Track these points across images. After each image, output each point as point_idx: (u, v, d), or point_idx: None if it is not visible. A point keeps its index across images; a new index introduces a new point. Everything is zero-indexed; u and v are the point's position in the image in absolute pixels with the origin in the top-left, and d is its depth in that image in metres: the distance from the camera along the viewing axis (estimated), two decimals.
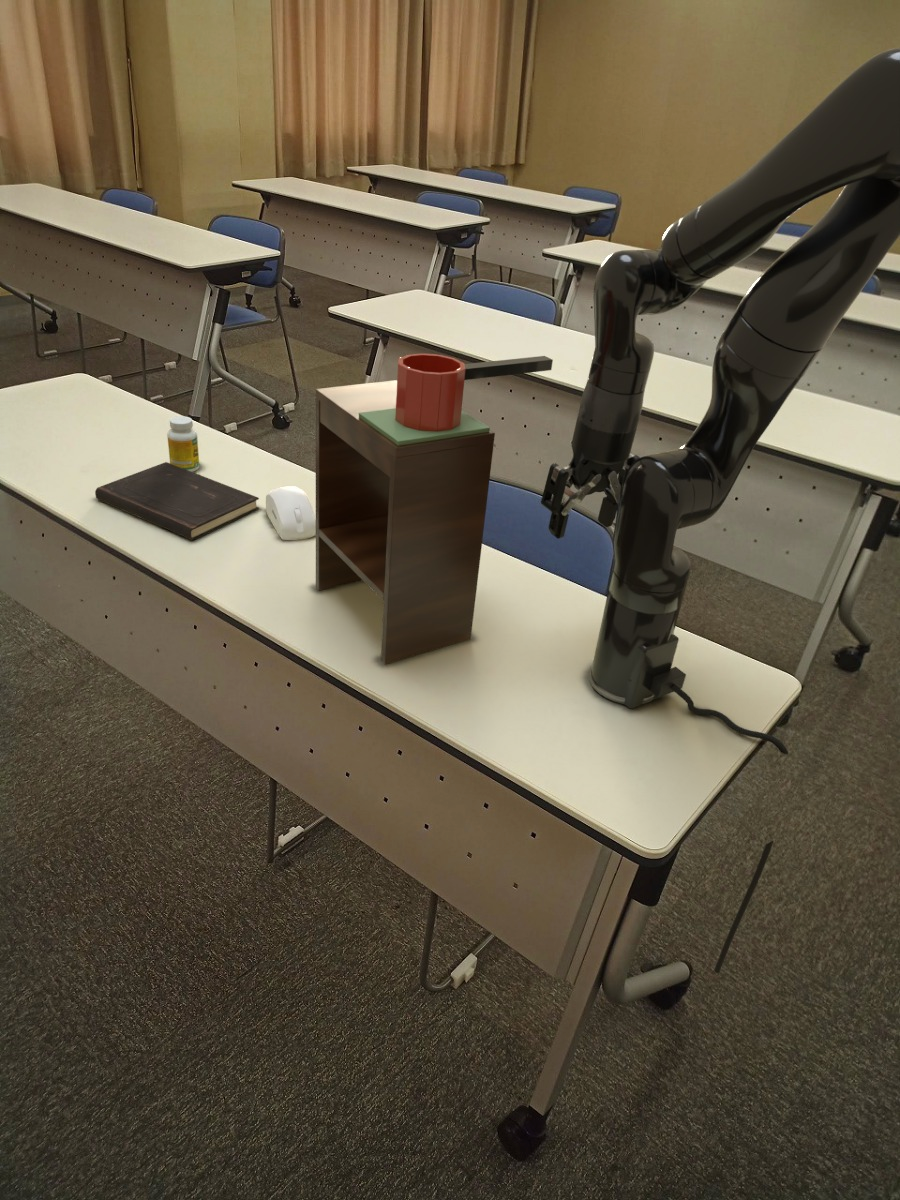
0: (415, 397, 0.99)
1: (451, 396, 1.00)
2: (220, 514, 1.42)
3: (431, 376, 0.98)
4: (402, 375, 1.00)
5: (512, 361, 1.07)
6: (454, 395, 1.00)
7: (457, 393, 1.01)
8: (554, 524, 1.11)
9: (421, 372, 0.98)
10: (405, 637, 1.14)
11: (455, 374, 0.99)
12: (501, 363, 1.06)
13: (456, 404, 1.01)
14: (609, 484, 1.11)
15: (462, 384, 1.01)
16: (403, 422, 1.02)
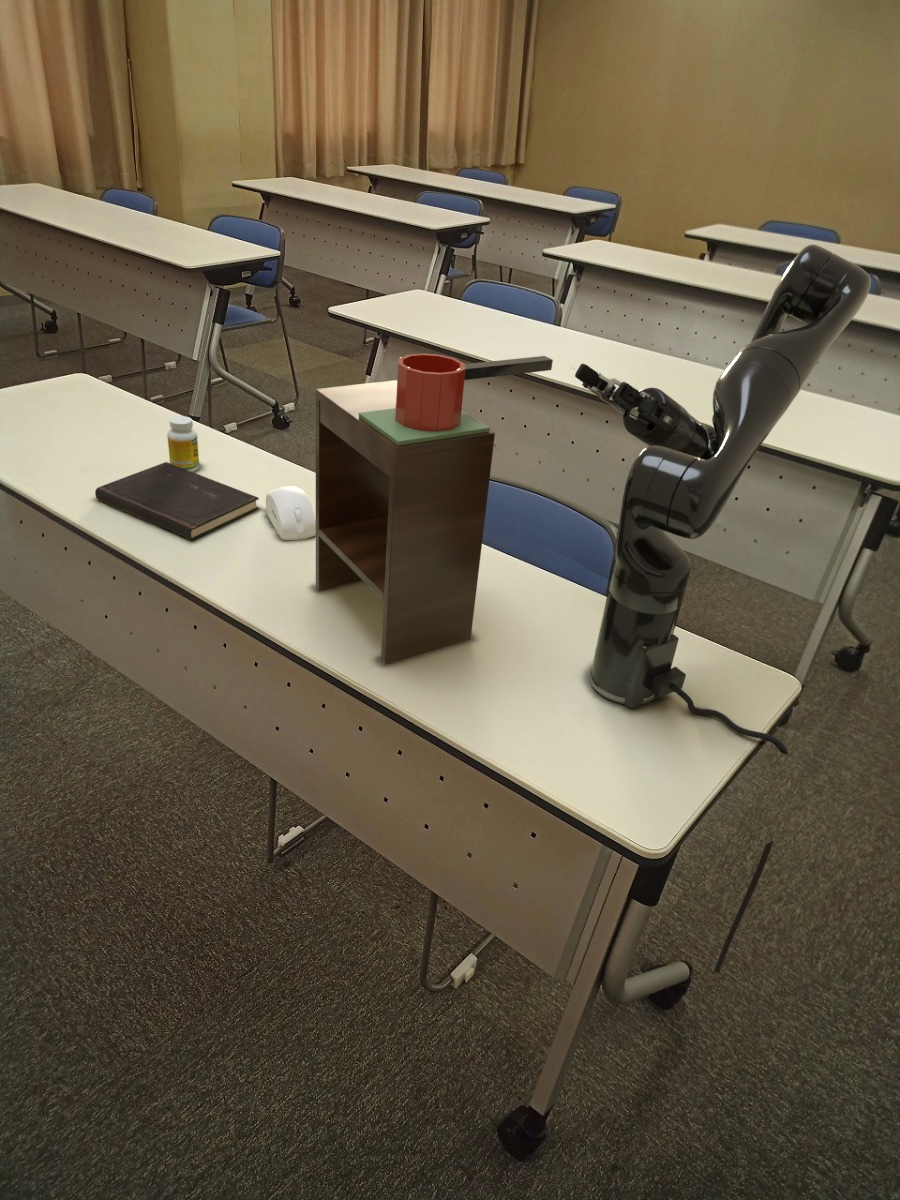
0: (415, 397, 0.99)
1: (451, 396, 1.00)
2: (220, 514, 1.42)
3: (431, 376, 0.98)
4: (402, 375, 1.00)
5: (512, 361, 1.07)
6: (454, 395, 1.00)
7: (457, 393, 1.01)
8: None
9: (421, 372, 0.98)
10: (405, 637, 1.14)
11: (455, 374, 0.99)
12: (501, 363, 1.06)
13: (456, 404, 1.01)
14: None
15: (462, 384, 1.01)
16: (403, 422, 1.02)
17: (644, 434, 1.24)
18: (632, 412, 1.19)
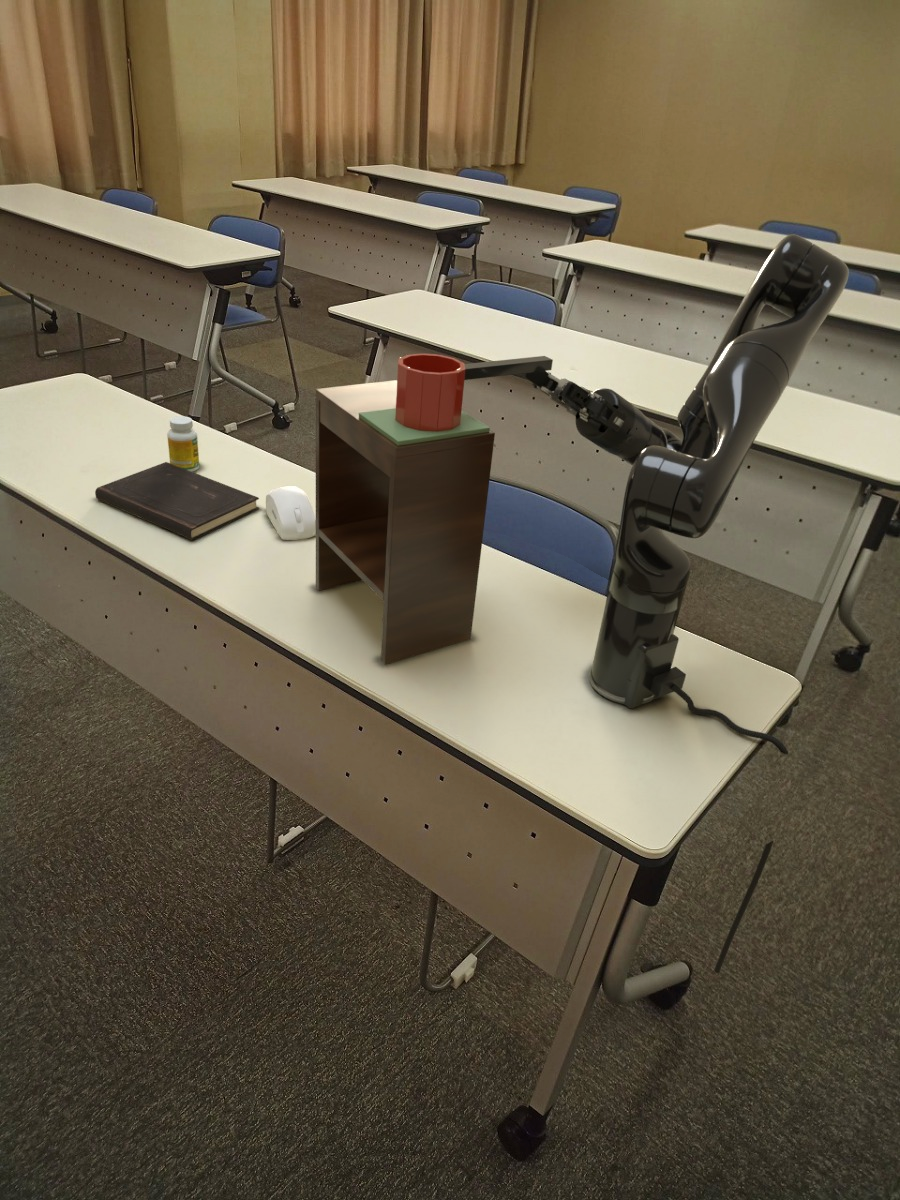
0: (415, 397, 0.99)
1: (451, 396, 1.00)
2: (220, 514, 1.42)
3: (431, 376, 0.98)
4: (402, 375, 1.00)
5: (512, 361, 1.07)
6: (454, 395, 1.00)
7: (457, 393, 1.01)
8: None
9: (421, 372, 0.98)
10: (405, 637, 1.14)
11: (455, 374, 0.99)
12: (501, 363, 1.06)
13: (456, 404, 1.01)
14: None
15: (462, 384, 1.01)
16: (403, 422, 1.02)
17: (596, 437, 1.19)
18: (581, 413, 1.14)
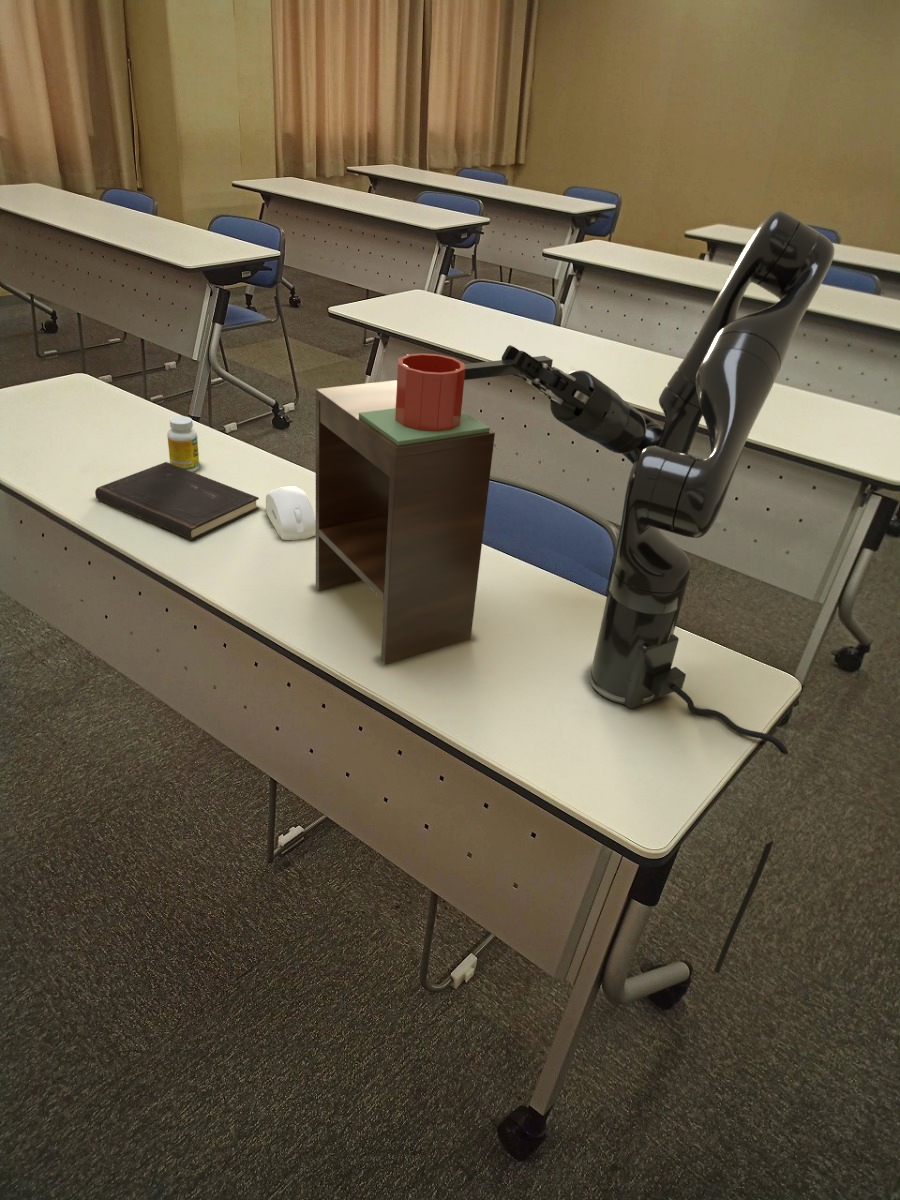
0: (415, 397, 0.99)
1: (451, 396, 1.00)
2: (220, 514, 1.42)
3: (431, 376, 0.98)
4: (402, 375, 1.00)
5: (512, 361, 1.07)
6: (454, 395, 1.00)
7: (457, 393, 1.01)
8: None
9: (421, 372, 0.98)
10: (405, 637, 1.14)
11: (455, 374, 0.99)
12: (501, 362, 1.06)
13: (456, 404, 1.01)
14: None
15: (462, 384, 1.01)
16: (403, 422, 1.02)
17: (571, 420, 1.15)
18: (541, 388, 1.11)
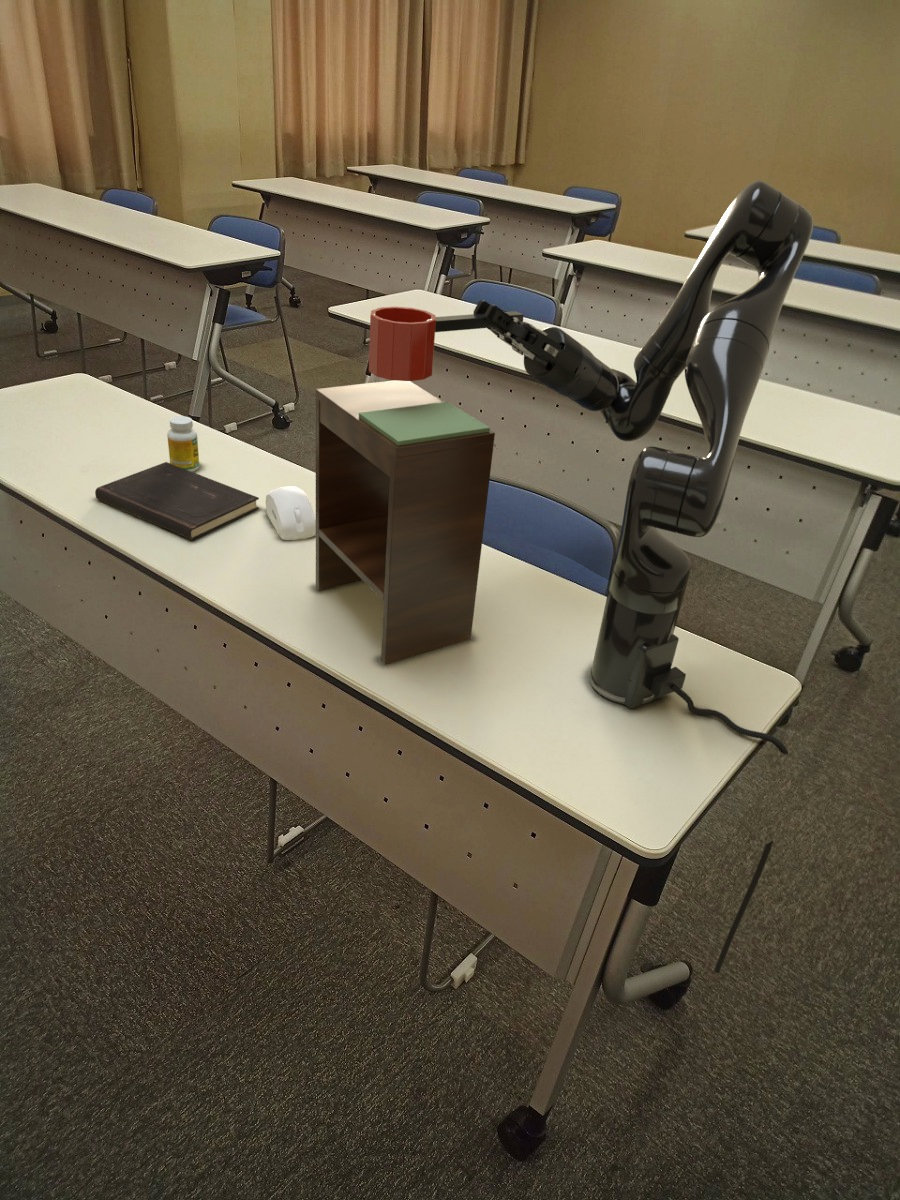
0: (387, 347, 1.03)
1: (422, 346, 1.03)
2: (220, 514, 1.42)
3: (402, 326, 1.01)
4: (374, 326, 1.03)
5: None
6: (425, 345, 1.03)
7: (428, 343, 1.04)
8: None
9: (392, 322, 1.01)
10: (405, 637, 1.14)
11: (425, 324, 1.02)
12: (473, 316, 1.09)
13: (427, 354, 1.04)
14: None
15: (433, 335, 1.04)
16: (376, 372, 1.05)
17: (543, 375, 1.18)
18: (513, 343, 1.14)
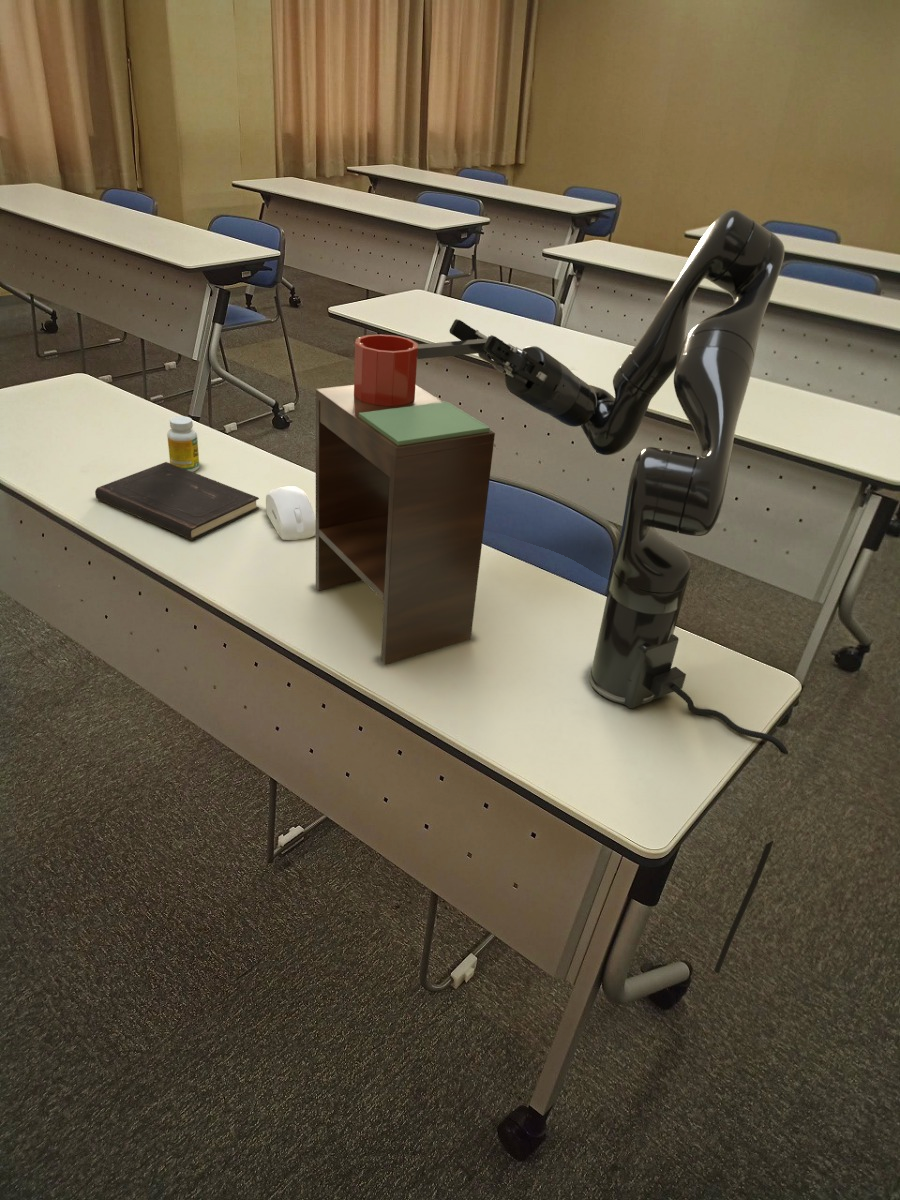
0: (371, 374, 1.07)
1: (404, 373, 1.08)
2: (220, 514, 1.42)
3: (385, 355, 1.06)
4: (359, 353, 1.08)
5: (464, 342, 1.15)
6: (407, 372, 1.08)
7: (410, 370, 1.09)
8: None
9: (375, 350, 1.06)
10: (405, 637, 1.14)
11: (407, 352, 1.07)
12: (454, 343, 1.14)
13: (409, 381, 1.09)
14: None
15: (415, 362, 1.09)
16: (360, 397, 1.10)
17: (523, 393, 1.22)
18: (506, 368, 1.17)
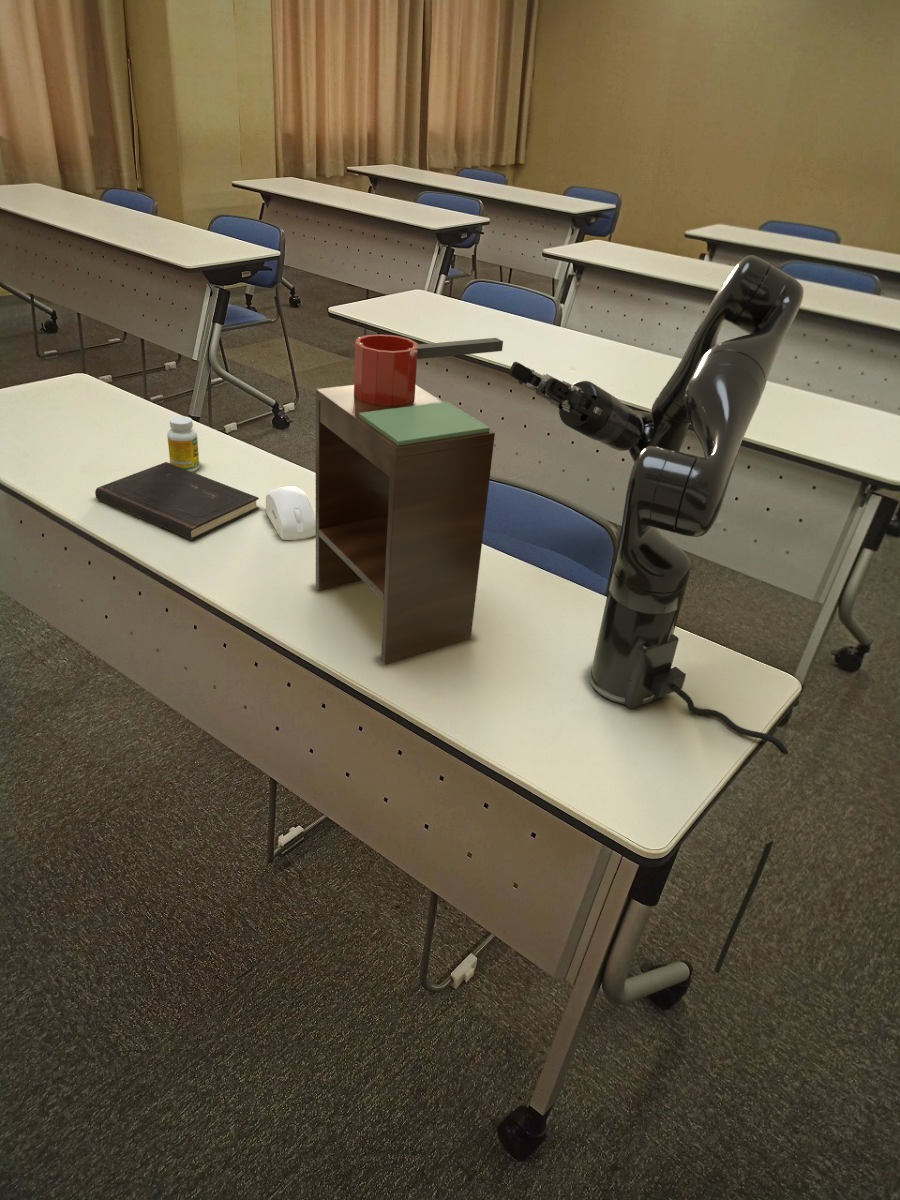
0: (371, 374, 1.07)
1: (404, 373, 1.08)
2: (220, 514, 1.42)
3: (385, 355, 1.06)
4: (359, 353, 1.08)
5: (464, 342, 1.15)
6: (407, 372, 1.08)
7: (410, 370, 1.09)
8: None
9: (375, 350, 1.06)
10: (405, 637, 1.14)
11: (407, 352, 1.07)
12: (454, 343, 1.14)
13: (409, 381, 1.09)
14: None
15: (415, 362, 1.09)
16: (360, 397, 1.10)
17: (578, 425, 1.31)
18: (564, 405, 1.26)
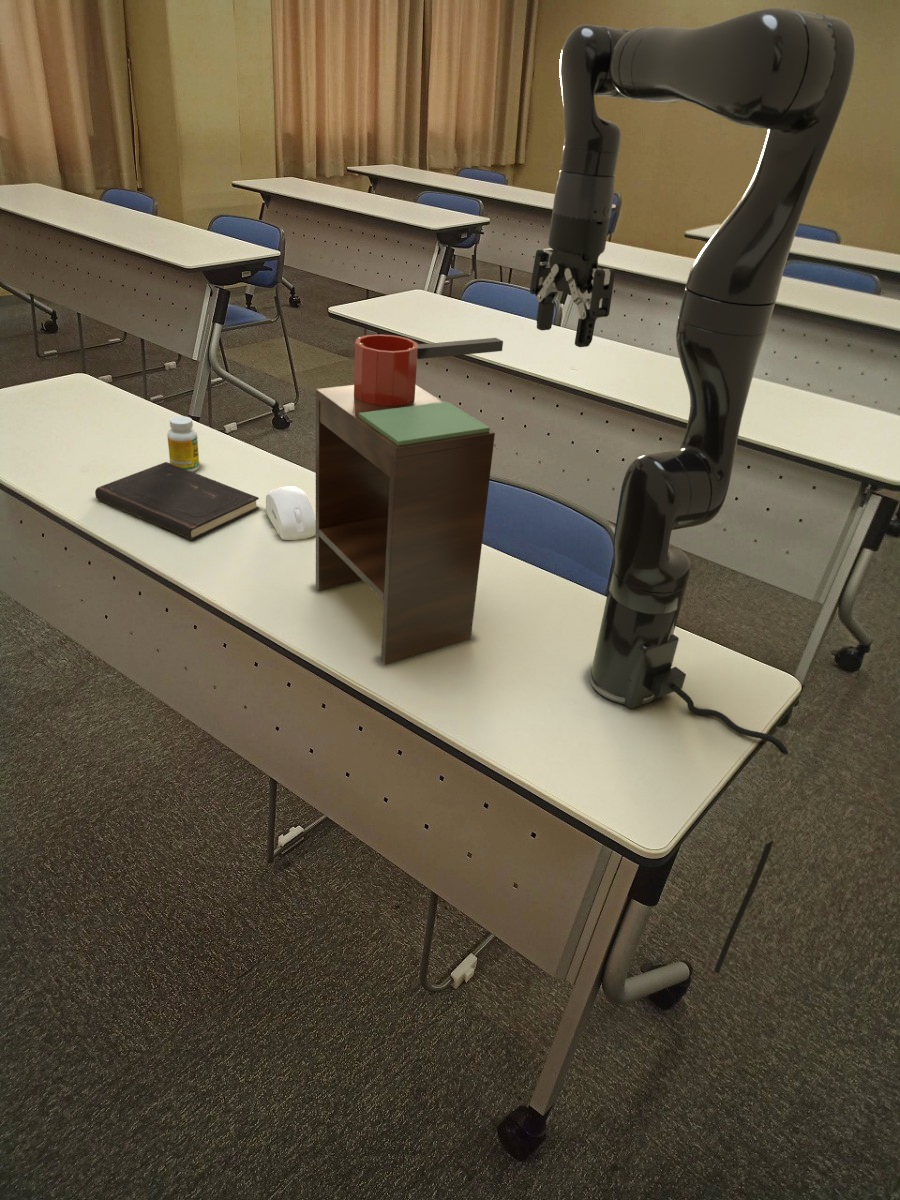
0: (371, 374, 1.07)
1: (404, 373, 1.08)
2: (220, 514, 1.42)
3: (385, 355, 1.06)
4: (359, 353, 1.08)
5: (464, 342, 1.15)
6: (407, 372, 1.08)
7: (410, 370, 1.09)
8: (539, 313, 1.21)
9: (375, 350, 1.06)
10: (405, 637, 1.14)
11: (407, 352, 1.07)
12: (454, 343, 1.14)
13: (409, 381, 1.09)
14: None
15: (415, 362, 1.09)
16: (360, 397, 1.10)
17: None
18: None
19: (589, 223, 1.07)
